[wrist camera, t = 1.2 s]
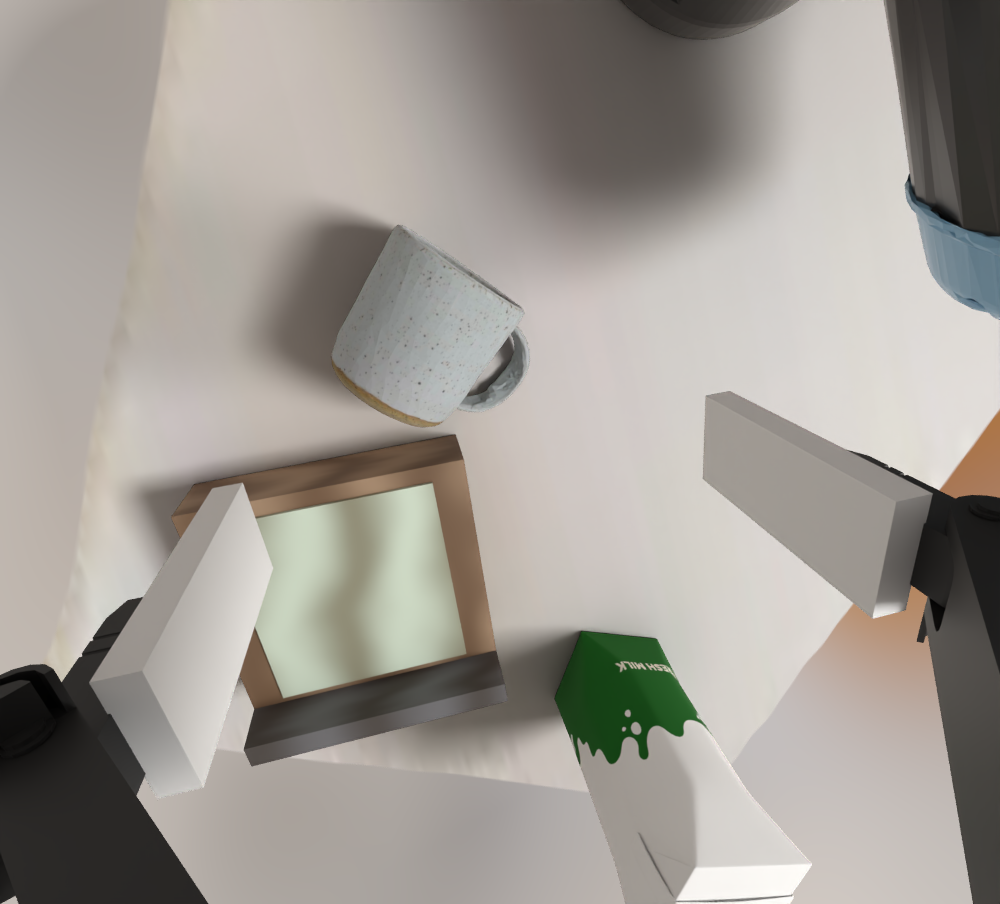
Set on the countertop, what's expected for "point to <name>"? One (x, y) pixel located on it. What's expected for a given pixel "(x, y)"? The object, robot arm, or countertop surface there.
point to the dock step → (364, 598)
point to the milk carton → (667, 784)
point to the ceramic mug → (427, 335)
